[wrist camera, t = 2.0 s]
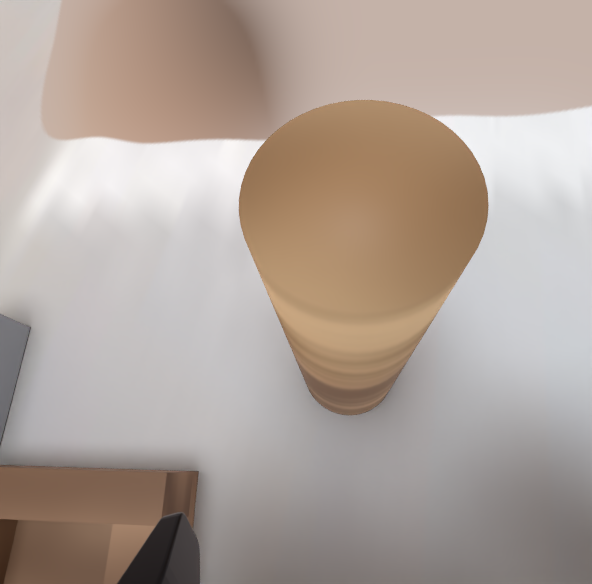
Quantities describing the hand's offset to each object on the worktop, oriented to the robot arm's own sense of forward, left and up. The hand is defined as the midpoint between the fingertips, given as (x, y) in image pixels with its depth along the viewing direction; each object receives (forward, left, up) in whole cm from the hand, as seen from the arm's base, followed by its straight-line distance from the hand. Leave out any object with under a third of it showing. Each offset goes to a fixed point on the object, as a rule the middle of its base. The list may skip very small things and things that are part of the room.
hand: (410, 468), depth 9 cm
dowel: (+4, +1, -11) cm, 12 cm away
